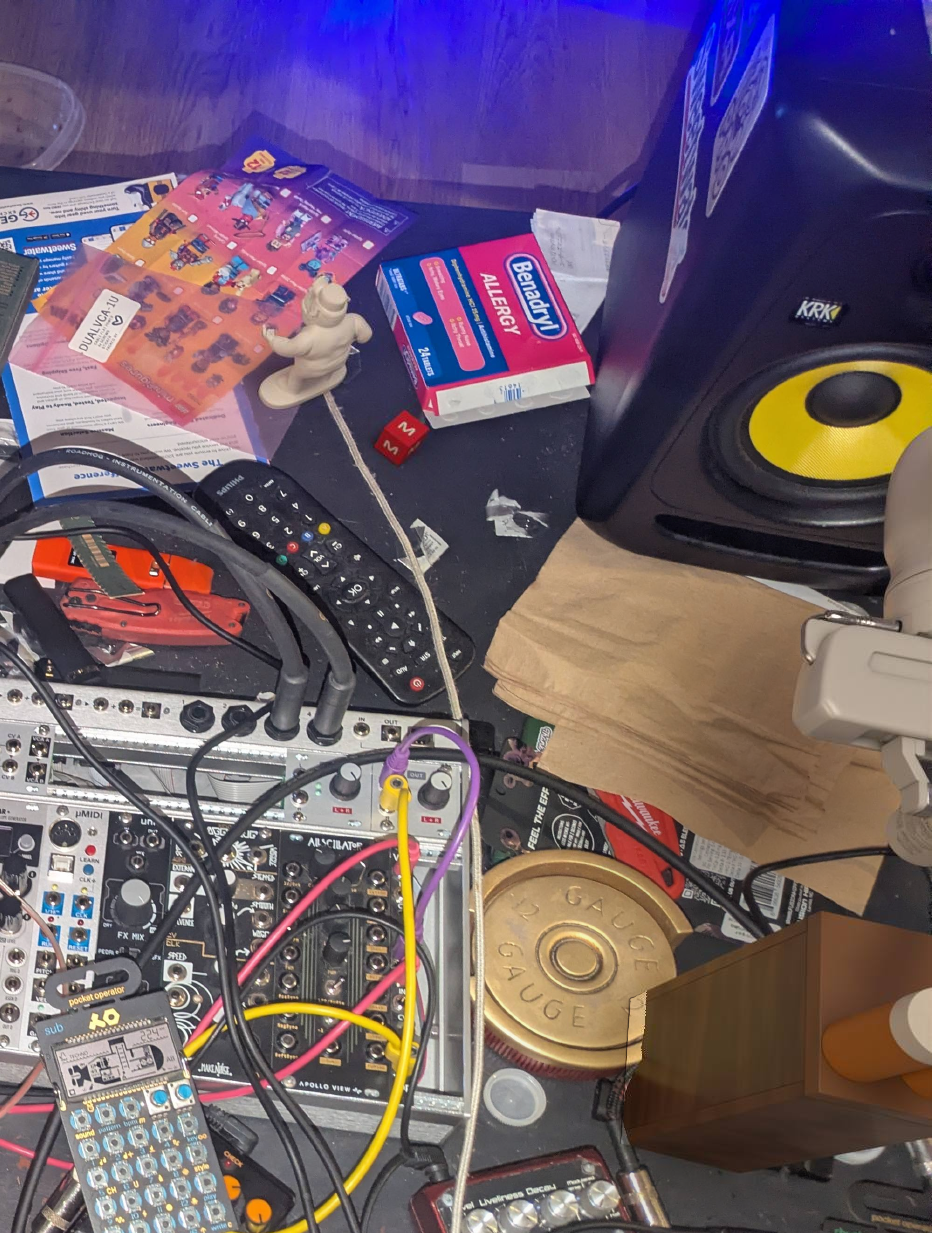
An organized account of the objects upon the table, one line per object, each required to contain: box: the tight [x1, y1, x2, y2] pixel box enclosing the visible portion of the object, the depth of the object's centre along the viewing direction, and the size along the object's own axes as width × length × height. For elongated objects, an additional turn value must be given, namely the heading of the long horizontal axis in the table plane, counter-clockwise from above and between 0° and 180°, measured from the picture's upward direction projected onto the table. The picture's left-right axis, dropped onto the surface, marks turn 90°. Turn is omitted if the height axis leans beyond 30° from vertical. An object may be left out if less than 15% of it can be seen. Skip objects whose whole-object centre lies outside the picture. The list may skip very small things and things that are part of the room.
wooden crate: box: [621, 916, 932, 1174], centre depth 97 cm, size 9×12×24 cm
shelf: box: [804, 910, 932, 1126], centre depth 85 cm, size 9×12×2 cm
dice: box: [373, 409, 430, 467], centre depth 128 cm, size 3×3×3 cm
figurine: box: [257, 274, 373, 411], centre depth 128 cm, size 9×7×12 cm
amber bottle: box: [822, 988, 932, 1083], centre depth 80 cm, size 4×4×8 cm
